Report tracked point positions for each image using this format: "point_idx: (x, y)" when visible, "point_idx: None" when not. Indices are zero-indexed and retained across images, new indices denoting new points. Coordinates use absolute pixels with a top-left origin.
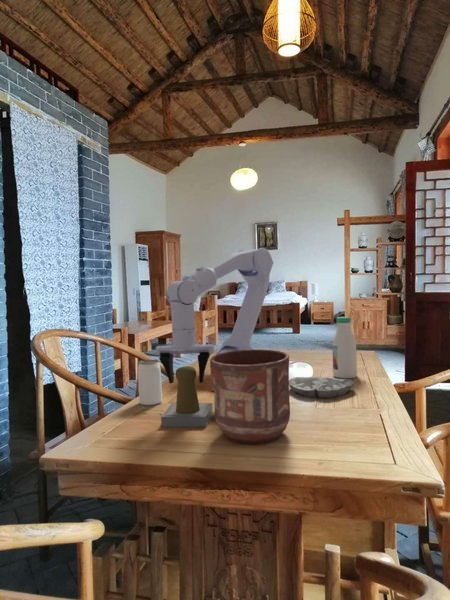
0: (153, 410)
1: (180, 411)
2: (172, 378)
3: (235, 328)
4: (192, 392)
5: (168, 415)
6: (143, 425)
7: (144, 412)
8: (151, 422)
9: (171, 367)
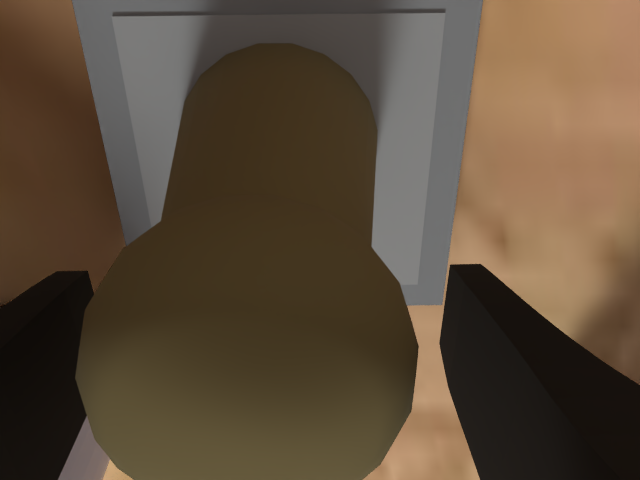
0: (557, 306)
1: (321, 59)
2: (458, 330)
3: None
4: (182, 160)
5: (422, 12)
6: (613, 5)
7: (615, 273)
8: (554, 75)
9: (513, 472)
